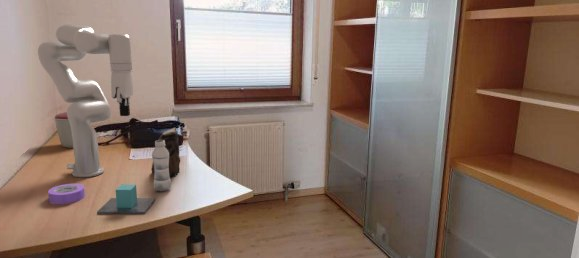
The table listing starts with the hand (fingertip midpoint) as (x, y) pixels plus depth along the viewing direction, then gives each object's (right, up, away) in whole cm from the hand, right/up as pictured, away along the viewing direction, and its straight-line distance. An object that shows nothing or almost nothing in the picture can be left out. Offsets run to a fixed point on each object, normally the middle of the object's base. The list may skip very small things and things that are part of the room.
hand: (125, 115), depth 155 cm
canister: (-54, -15, +65) cm, 86 cm away
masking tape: (-19, -31, -6) cm, 37 cm away
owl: (+9, -25, +22) cm, 35 cm away
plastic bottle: (+14, -30, +3) cm, 33 cm away
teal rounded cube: (+6, -32, -13) cm, 35 cm away
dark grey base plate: (+6, -33, -13) cm, 36 cm away
